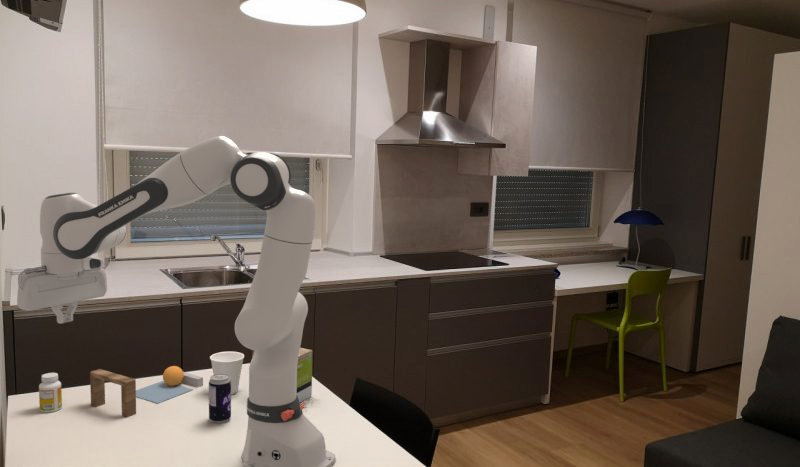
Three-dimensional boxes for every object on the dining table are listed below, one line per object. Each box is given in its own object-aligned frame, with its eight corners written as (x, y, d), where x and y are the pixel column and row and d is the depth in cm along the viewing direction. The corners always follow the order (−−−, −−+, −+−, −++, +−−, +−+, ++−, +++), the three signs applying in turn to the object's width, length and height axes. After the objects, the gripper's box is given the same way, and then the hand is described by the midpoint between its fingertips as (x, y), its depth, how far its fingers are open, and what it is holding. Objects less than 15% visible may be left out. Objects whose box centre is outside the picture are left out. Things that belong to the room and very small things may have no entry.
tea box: (250, 397, 191) (251, 348, 189) (272, 387, 200) (273, 340, 198) (292, 408, 184) (292, 357, 182) (312, 397, 193) (313, 348, 191)
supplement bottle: (55, 403, 182) (54, 370, 181) (66, 408, 179) (64, 374, 178) (35, 409, 177) (34, 375, 176) (46, 414, 174) (44, 379, 173)
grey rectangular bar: (203, 385, 200) (203, 377, 199) (198, 387, 198) (198, 379, 198) (175, 377, 205) (175, 369, 205) (170, 379, 204) (170, 371, 203)
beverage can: (224, 425, 171) (224, 381, 170) (205, 422, 172) (204, 379, 171) (234, 417, 177) (234, 374, 175) (215, 414, 178) (215, 372, 176)
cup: (207, 388, 197) (207, 353, 196) (240, 384, 201) (240, 350, 200) (212, 400, 188) (212, 363, 187) (247, 395, 192) (247, 359, 191)
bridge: (136, 413, 177) (135, 379, 176) (126, 417, 174) (126, 382, 173) (100, 402, 184) (99, 368, 183) (90, 405, 182) (90, 371, 180)
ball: (189, 383, 200) (186, 365, 198) (172, 391, 195) (169, 373, 193) (176, 378, 203) (174, 360, 202) (160, 386, 198) (157, 368, 197)
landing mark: (192, 389, 195) (192, 389, 195) (157, 403, 184) (157, 403, 184) (163, 381, 202) (162, 380, 202) (127, 394, 191) (127, 393, 190)
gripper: (26, 271, 139) (29, 334, 141) (110, 259, 157) (111, 315, 159) (9, 268, 142) (12, 329, 144) (93, 256, 160) (95, 311, 162)
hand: (65, 322), depth 151 cm, fingers closed
